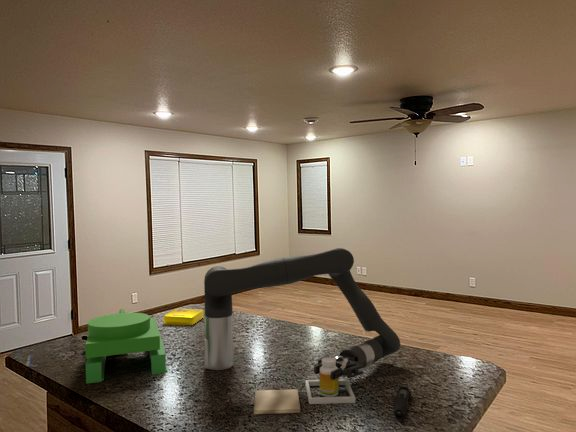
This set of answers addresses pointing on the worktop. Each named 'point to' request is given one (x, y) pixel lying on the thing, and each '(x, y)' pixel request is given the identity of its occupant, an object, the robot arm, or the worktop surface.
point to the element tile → (183, 316)
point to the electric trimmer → (402, 401)
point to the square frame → (329, 399)
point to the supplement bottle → (328, 378)
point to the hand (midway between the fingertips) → (323, 373)
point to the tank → (122, 342)
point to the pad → (276, 401)
